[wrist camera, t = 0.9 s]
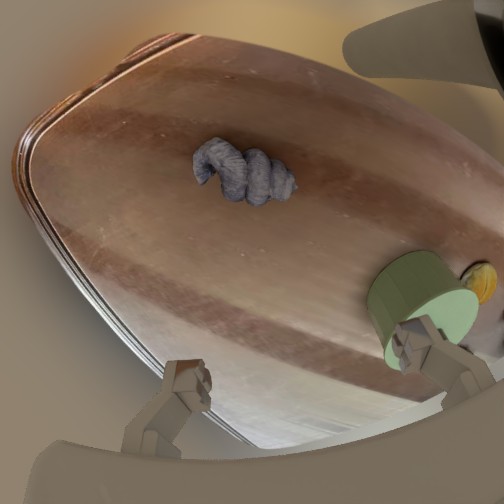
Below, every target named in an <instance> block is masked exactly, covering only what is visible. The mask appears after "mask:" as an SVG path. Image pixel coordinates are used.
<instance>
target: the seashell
mask: <svg viewBox="0 0 504 504" xmlns="http://www.w3.org/2000/svg"><path fill="white" fill-rule="evenodd" d="M212 165H213V166H214V167H215V169H216V170H217V171H218V173H219V175H220V178H221V182H222V184H221V188H222V193H223V195H224V197H225V198H226V199H227V200H230V201H233V202H238V201H242V200H243V199H244V198H245V197H246V201H247V203H248V204H250V205H252V206H255V207H259V206H262V205H264V204H265V203H266V202H267V201H270V200H272V199H276V200H277V201H280V200H281V201H282V202H283V201H287V200H288V199H289V198H290V196H291V195H292V192H293V191H295V190H297V189H298V186H297V185H296V184H295V182H294V181H295V176H294V173H293V171H292V170H291V169H286V167H285V165H284V164H283V163H282V162H281V161H280V160H278V159H268V157H267V156H266V154H265V153H264V152H263V151H261V150H260V149H255V148H254V149H249V150H247V151H245V152H244V153H242V154H241V152H240V151H239V150H237V149H236V148H235V147H234V146H233V145H231V144H230V143H229V142H227V141H225V140H223V139H221V138H218V137H215V138H213V139H212V140H210V141H207V142H206V143H204V144H203V145H202V146H200V147H199V148H198V149H196V150H195V153H194V156H193V172H194V175H195V177H196V178H197V182H198V183H199V184H200V185H203V184H205V183H206V181H207V180H208V179H209V178H210V177H211V176H214V174H215V173H216V170H215V169H214V168H212Z"/></svg>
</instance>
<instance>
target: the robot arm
mask: <svg viewBox="0 0 504 504" xmlns="http://www.w3.org/2000/svg"><path fill="white" fill-rule="evenodd" d="M502 24H503V31H504V9H503V13H502ZM394 330H395V332H396V333H395V334H394V335H393V336H392V341H391V342H392V349H393V352H394V355H395V356H396V357H398V358H399V359H400V360H399V366H400V369H401V371H402V373H403V376H404V375H407V374H411V373H414V372H417V371H420V372H422V373H423V374H424V375H425V376H427V377H428V378H429V379H430V380H432V381H433V382H434V383H435V384H437V385H438V386H439V387H440V388H442V389H443V390H444V391H446V392H447V395H446V396H445V398H444V399H443V400H442V403H441V406H442V408H443V411H441V412H438V413H436V414H434V415H431V416H429V417H427V418H424V419H422V420H419V421H417V422H414V423H411V424H408V425H406V426H403V427H400V428H397V429H394V430H391V431H388V432H385V433H382V434H379V435H375V436H372V437H369V438H365V439H361V440H357V441H354V442H350V443H346V444H341V445H337V446H332V447H327V448H323V449H317V450H312V451H307V452H300V453H293V454H286V455H278V456H269V457H259V458H245V459H223V460H221V459H220V460H198V459H196V460H195V459H181V451H180V450H179V449H178V448H177V447H175V446H174V445H173V444H172V442H173V440H174V439H175V438H176V436H177V435H178V433H179V432H180V430H181V429H182V427H183V426H184V424H185V423H186V421H187V420H188V418H189V417H190V415H191V414H192V413H191V412H205V411H210V407H211V397H210V396H209V394H208V393H209V392H210V391H211V389H212V381H211V375H210V372H209V370H208V369H206V368H205V363H204V361H203V360H202V359H193V360H174V361H167V363H166V365H165V370H164V375H163V380H162V385H161V391H160V393H157V394H156V395H155V396H154V397H153V398H152V399H151V400H150V401H149V402H148V404H147V405H146V406H145V407H144V408H143V409H142V410H141V411H140V412H139V413H138V414H137V415H136V417H135V418H134V419H133V420H132V421H131V422H130V423H129V424H128V425H127V426H126V428H125V433H124V438H123V443H122V448H121V453H119V452H114V451H108V450H102V449H98V448H93V447H88V446H84V445H79V444H76V443H72V442H68V441H64V440H56V441H55V442H53V443H52V444H51V445H49V446H48V447H47V448H46V449H45V450H44V451H43V452H42V453H40V454H39V455H38V457H37V458H36V460H35V462H34V464H33V467H32V469H31V473H30V476H29V480H28V484H27V488H26V493H25V498H24V503H23V504H504V378H503V379H502V380H500V381H498V382H497V383H496V381H495V379H494V377H493V375H492V374H491V372H490V370H489V368H488V366H487V364H486V363H485V361H483V360H482V359H480V358H478V357H476V356H475V355H473V354H471V353H469V352H468V351H466V350H464V349H462V348H461V347H459V346H457V345H455V344H453V343H452V342H450V341H448V340H443V338H442V336H441V335H440V333H439V331H438V330H437V328H436V326H435V325H434V323H433V321H432V320H431V318H430V317H429V315H427V314H425V315H422V316H419V317H415V318H411V319H408V320H405V321H402V322H398V323H396V325H395V328H394Z"/></svg>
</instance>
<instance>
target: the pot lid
mask: <svg viewBox="0 0 504 504" xmlns="http://www.w3.org/2000/svg"><path fill="white" fill-rule="evenodd" d="M478 308H479V301H478V297H477V295H476V294H475V293H474V292H473V291H472V290H471V289H469V288H466V287H454V288H450V289H447V290H444V291H441V292H439V293H437V294H435V295H433V296H432V297H430V298H428V299H427V300H425V301H424V302H422V303H421V304H419V305H418V306H417V307H415V308H414V309H413V310H412V311H411V312H409V313H408V314H407V315H406V316H405V317H404V318H403V319H402V320H401V321H400V322H402V321H405V320H408V319H411V318H415V317H419V316H422V315H425V314H427V315H429V317H430V318H431V320H432V321H433V323H434V325H435V326H436V328H437V330H438V331H439V333H440V335H441V336H442V338H443V340H448V341H450V342H452V343H453V344H455V345H457V344H458V343H459V342H460V341H461V340H462V339H463V337H464V336H465V335H466V334H467V332H468V331H469V330H470V328H471V326H472V325H473V323H474V321H475V319H476V316H477V313H478ZM395 333H396V332H395V330H393V331H392V333H391V334H390V336H389V337H388V339H387V341H386V344H385V347H384V359H385V362H386V363H387V365H388V366H389V367H391V368H393V369H396V370H401V369H400V366H399V360H400V359H399V358H398V357H396V356H395V355H394V352H393V349H392V342H391V341H392V336H393V335H394V334H395Z"/></svg>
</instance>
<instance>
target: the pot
mask: <svg viewBox="0 0 504 504" xmlns="http://www.w3.org/2000/svg"><path fill="white" fill-rule="evenodd" d="M454 287H466V286H465V285H464V284H463V282H462V281H461V280H460V279H459V278H458V276H457V275H456V274H455V273H454V272H453V270H452V269H451V268H450V267H449V266H448V265H447V264H446V262H445V261H444V260H443V259H441V258H440V257H439V256H438V255H437V254H435V253H433V252H430V251H415V252H411V253H408V254H406V255H403V256H402V257H400V258H398V259H396V260H395V261H393V262H392V263H391V264H389V265H388V266H387V267H386V268H385V269H384V270H383V271H382V272H381V273H380V274H379V275H378V277H377V278H376V279H375V281H374V282H373V284H372V286H371V288H370V290H369V293H368V297H367V310H368V314H369V317H370V319H371V321H372V323H373V326H374V328H375V330H376V332H377V335H378V337H379V339H380V342H381V344H382V346H383V349H384V347H385V344H386V341H387V339H388V337H389V336H390V334H391V333H392V331H393V330H394V328H395V325H396V323H398V322H400V321H401V320H402V319H403V318H404V317H405V316H406V315H407V314H408V313H409V312H411V311H412V310H413V309H414V308H415V307H417V306H418V305H419V304H421V303H422V302H424V301H425V300H427V299H428V298H430V297H432V296H433V295H435V294H437V293H439V292H441V291H444V290H447V289H450V288H454ZM466 288H467V287H466Z"/></svg>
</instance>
